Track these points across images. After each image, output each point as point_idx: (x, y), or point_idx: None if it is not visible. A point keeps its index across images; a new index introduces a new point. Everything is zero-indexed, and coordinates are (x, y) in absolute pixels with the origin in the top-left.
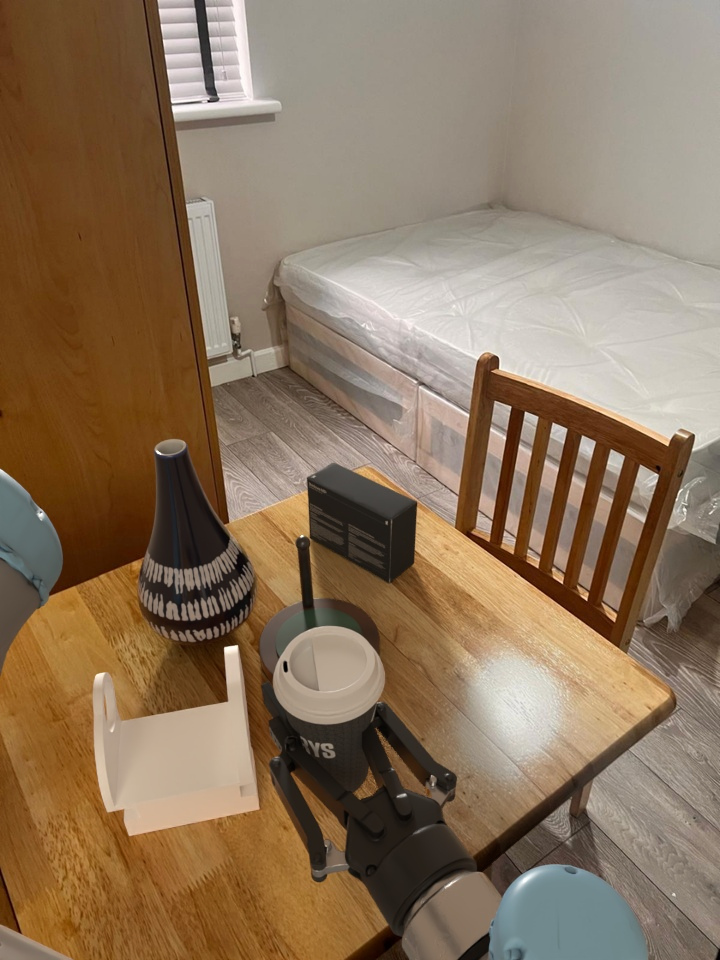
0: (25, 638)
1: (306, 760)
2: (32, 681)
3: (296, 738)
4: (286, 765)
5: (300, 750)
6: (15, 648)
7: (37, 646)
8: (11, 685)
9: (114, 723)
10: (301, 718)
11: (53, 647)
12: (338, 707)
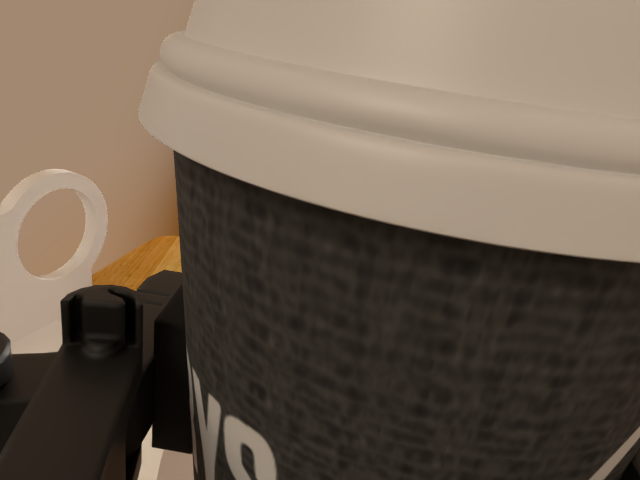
0: (157, 249)
1: (69, 424)
2: (120, 279)
3: (137, 310)
4: (3, 400)
5: (110, 374)
6: (140, 251)
7: (159, 259)
8: (100, 272)
9: (58, 277)
10: (144, 116)
11: (171, 266)
12: (380, 70)
